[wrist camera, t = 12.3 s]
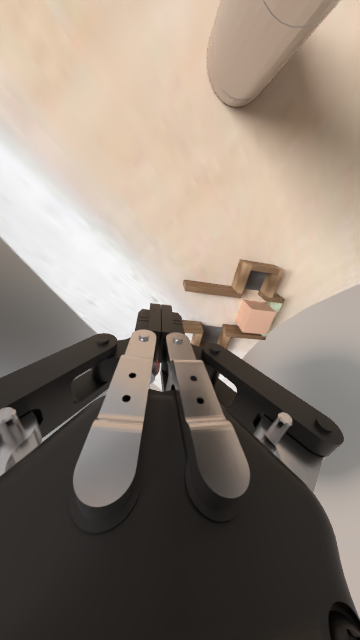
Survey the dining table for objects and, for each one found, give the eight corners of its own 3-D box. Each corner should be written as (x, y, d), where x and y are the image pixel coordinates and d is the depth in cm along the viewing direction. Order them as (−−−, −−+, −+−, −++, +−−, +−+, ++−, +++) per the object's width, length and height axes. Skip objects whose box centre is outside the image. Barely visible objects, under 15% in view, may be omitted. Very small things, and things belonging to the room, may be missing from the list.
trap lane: (189, 251, 38) (192, 255, 34) (286, 267, 41) (297, 272, 38) (172, 342, 49) (172, 352, 45) (249, 348, 52) (255, 358, 49)
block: (242, 299, 45) (251, 309, 40) (265, 302, 46) (276, 312, 41) (235, 321, 47) (242, 332, 43) (256, 323, 48) (266, 334, 44)
